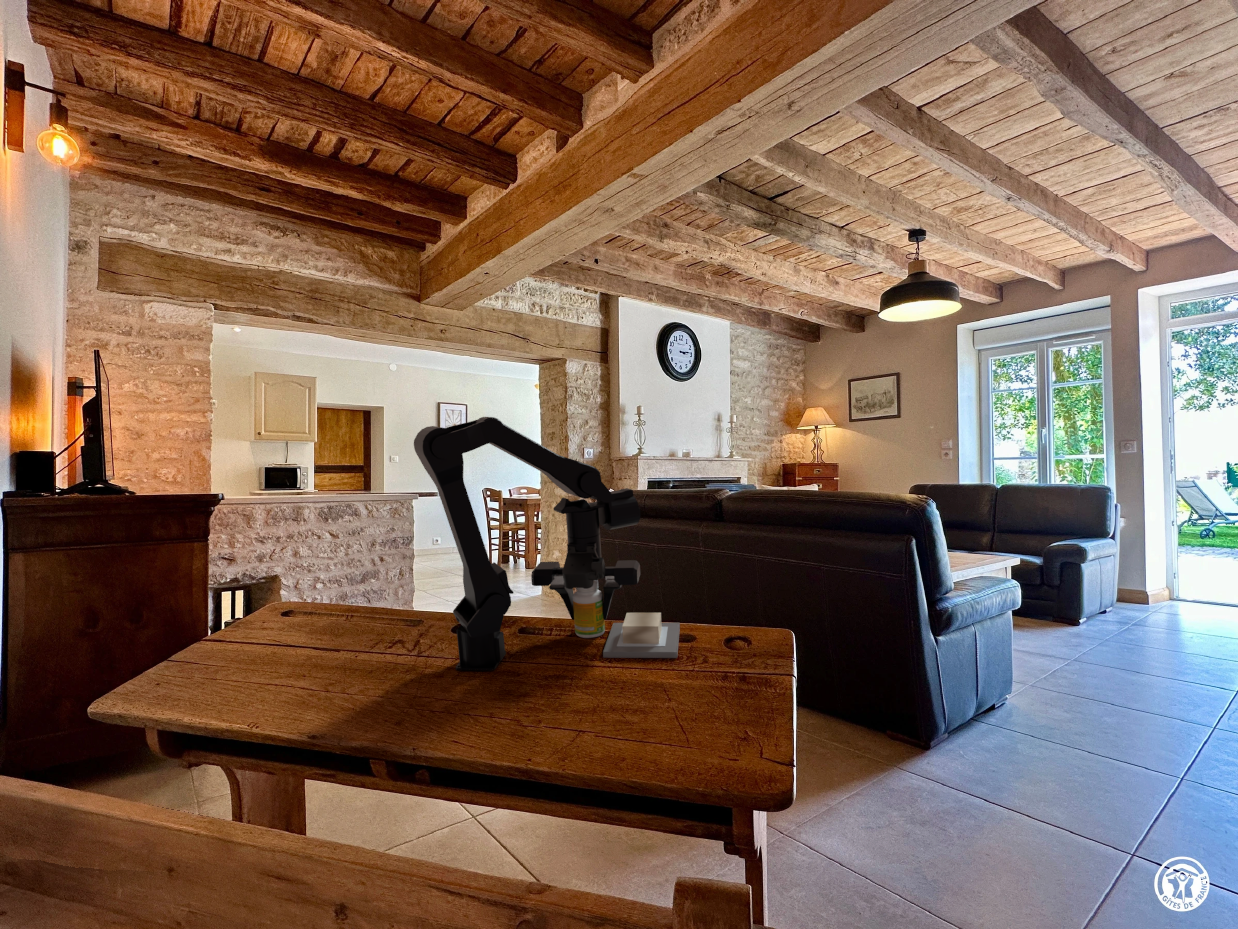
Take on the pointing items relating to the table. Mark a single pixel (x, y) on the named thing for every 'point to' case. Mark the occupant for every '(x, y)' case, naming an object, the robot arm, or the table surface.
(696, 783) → the table surface
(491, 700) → the table surface
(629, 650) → the baseplate
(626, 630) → the birch block
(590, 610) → the supplement bottle
